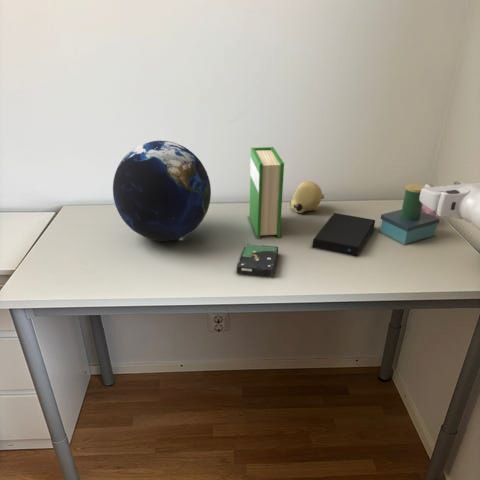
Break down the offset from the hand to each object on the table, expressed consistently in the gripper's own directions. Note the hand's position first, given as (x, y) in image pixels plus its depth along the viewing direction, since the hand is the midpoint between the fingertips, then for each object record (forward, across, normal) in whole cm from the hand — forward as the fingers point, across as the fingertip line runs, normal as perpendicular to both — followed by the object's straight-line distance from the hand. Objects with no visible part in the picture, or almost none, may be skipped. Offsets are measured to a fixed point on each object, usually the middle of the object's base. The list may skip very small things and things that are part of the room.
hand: (441, 185), depth 148 cm
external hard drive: (+14, +22, +21) cm, 33 cm away
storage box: (+12, 0, +21) cm, 24 cm away
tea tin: (+12, 0, +15) cm, 19 cm away
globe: (+28, +78, +20) cm, 85 cm away
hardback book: (+28, +44, +20) cm, 57 cm away
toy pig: (+39, +26, +21) cm, 51 cm away
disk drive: (+3, +54, +20) cm, 58 cm away
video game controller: (+21, -11, +21) cm, 31 cm away
